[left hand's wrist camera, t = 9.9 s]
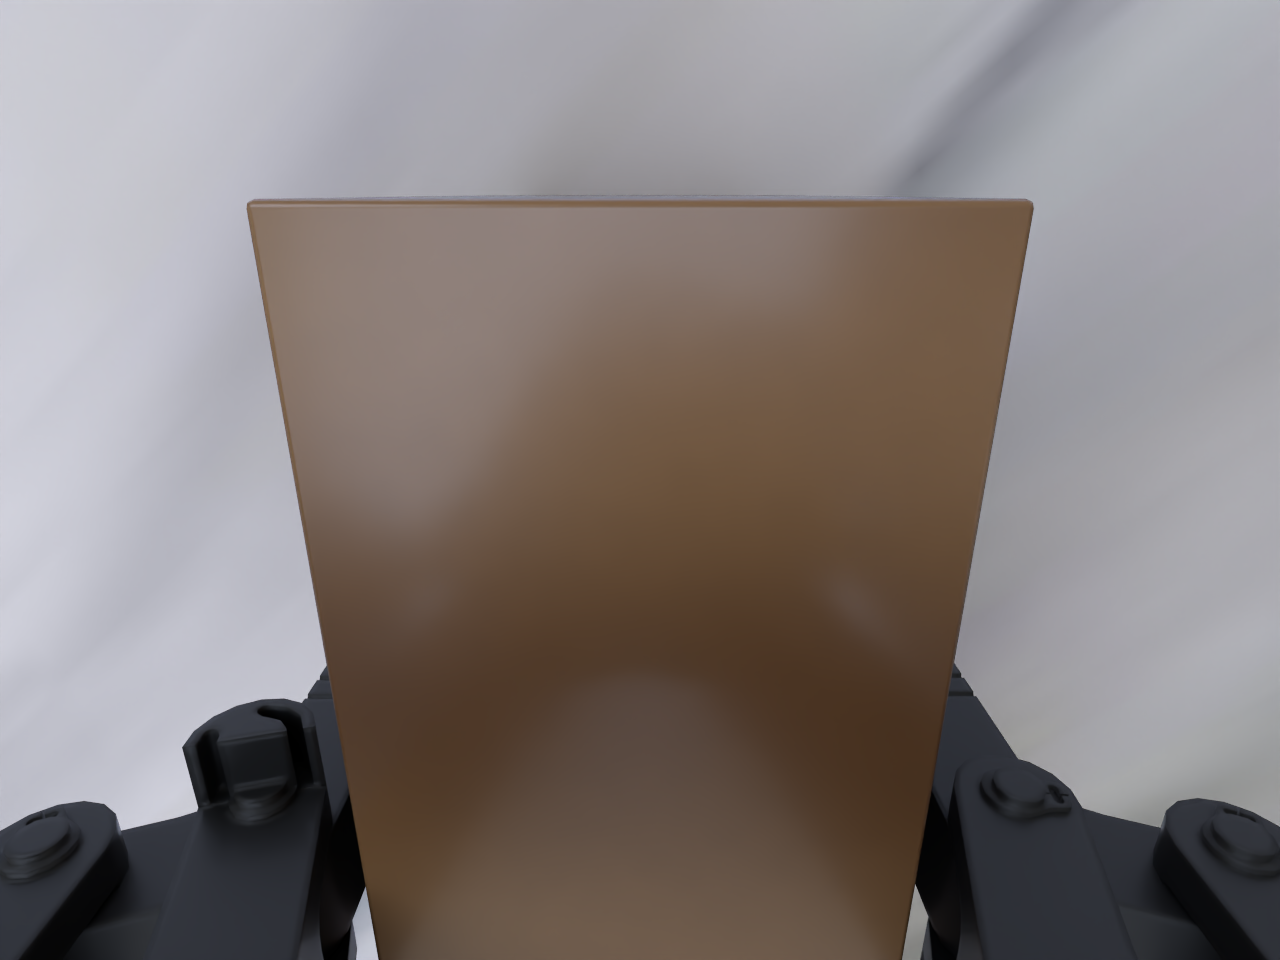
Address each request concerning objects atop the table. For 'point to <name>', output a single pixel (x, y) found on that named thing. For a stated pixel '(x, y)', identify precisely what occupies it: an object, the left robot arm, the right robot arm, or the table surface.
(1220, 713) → the table surface
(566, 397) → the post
